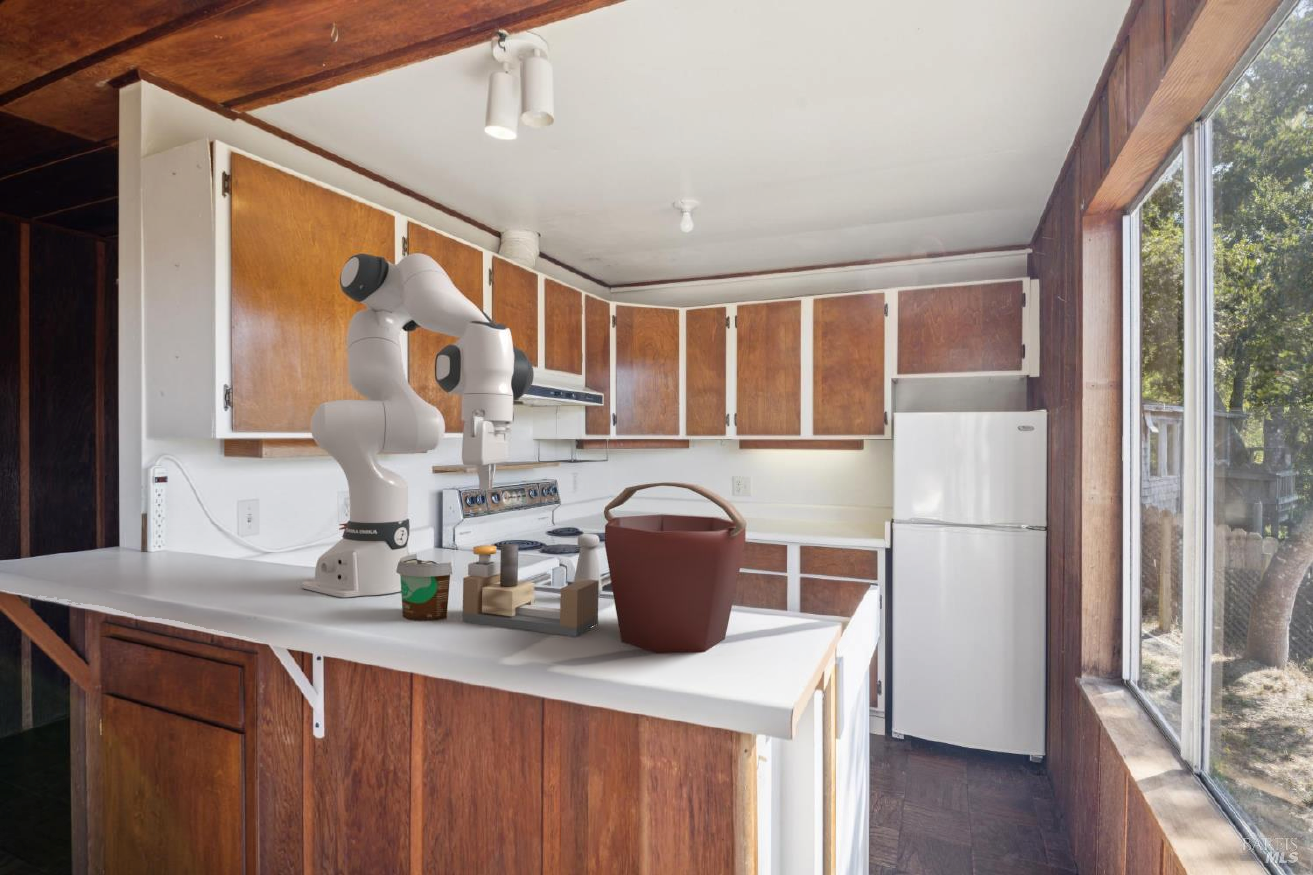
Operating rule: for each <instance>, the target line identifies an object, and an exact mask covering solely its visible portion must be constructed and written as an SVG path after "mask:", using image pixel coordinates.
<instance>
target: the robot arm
mask: <svg viewBox="0 0 1313 875" xmlns="http://www.w3.org/2000/svg"><path fill="white" fill-rule="evenodd" d="M339 284H340V288H341V292H342V293H343V294H345V296H347V297H348V298H349V299H351V300H353V301H354V302H356V303H361V304H363V305H364V306H366V307H367V308H364V309H361V310H359V311H357V312H356V313H355V314H354V315H353V316H352V317H351V319H350V321H349V326H348V330H347V340H346V341H347V342H346V354H347V355H346V356H347V370H348V372H347V373H348V381H349V383H350V385H351V387H352V388H353V389H354V391H355V392H356V393H358V394H359V395H360V396H363V397H364V398H366V399H351V398H350V399H349V398H348V399H340V400H339V399H338V400H332V401H326V402H323V403H321V404H320V405H318V407H317V408H316V409H315V411H314V412H313V414H312V416H311V419H310V432H311V436H312V438H313V440H314V441H315V442H314V443H315V444H316V445H317V446H318V447H320V448H321V450H323V451H325V452H326V453H327V454H329V455H330V456H331V457H332V458H333V459H334V460H335V461H336V462H337V463H338V464H339V466H340V468H341V469H342V471H343V473H344V476H345V478H346V480H347V486H348V494H349V495H348V496H349V520H348V521H347V522H345V523H339V525H338V526H342V527H339V528H338V530H339V531H340V530H344V531H343V534H342V538H341V539H340V540H339V541H338V542H336V544H334V545H332V546H331V547H330V548H329V549H328V550H326V551H325V552H324V553H322V554H321V555H320V556H319V557H318V559H317V562H316V564H315V571H314V578H310V579H308V580H305V581H304V582H302V583H301V588H302V589H304V590H305V589H306V590H308V591H313V592H317V593H321V594H325V595H329V596H334V597H339V598H351V597H359V596H360V597H361V596H377V595H378V596H379V595H386V594H394V593H399V592H401V579H400V574H398V573H397V572H396V570H397V566H398V562H400V559H401V558H402V557H405V556H408V555H410V554H409V553H410V552H409V546H408V541H409V536H410V528H411V526H410V519H409V518H408V506H409V504H408V502H409V500H408V499H409V497H408V495H409V487H408V483H407V482H406V480H405V478H403V477H402V476H401V475H400V474H398V473H396V472H394V471H392V470H390V469H388V468H385V467H383V466H382V465H380V463H379V461H378V456H377V455H379V454H416V453H423V452H428V451H434V450H435V449H436V448H437V447H438V446H439V445H440V444H441V442H442V441H443V439H444V437H445V434H446V433H445V432H446V424H445V419H444V417H443V414H442V413H441V412H440V410H439V409H438V408H437V407H436V406H434V405H432V404H431V403H428V401H426V400H424V398H422V397H420V396H419V395H418V393H417V392H416V391H415V390H413V388H412V387H411V386H410V383H409V381H408V380H407V378H406V374H405V370H404V365H403V358H402V356H403V355H402V349H401V348H402V347H401V342H400V334H401V333H400V332H401V331H404V332H414V331H416V329H420V328H422V329H425V330H427V331H429V332H434V333H438V334H441V335H442V334H443V335H447V336H451V337H455V338H457V339H458V340H457V341H455V342H454V343H451V344H450V343H449V344H447V345H446V346H444V347H443V348H442V349H441V350H440V351H438V353H437V354H436V356H435V361H434V377H435V378H434V379H435V381H436V383H437V384H438V386H439V387H440V388H441V390H443V391H444V392H445V393H447V394H451V395H454V396H455V395H456V396H462V397H461V421H462V422H464V424H463V430H462V441H461V442H462V444H461V461H462V464H463V466H473V467H475V466H477V467H476V472H477V476H478V480H479V482H478V486H479V487H478V489H479V490H480V491H489V490H493V488H494V477H495V474H496V469H497V468H496V467H497V466H496V464H501V463H506V462H508V459H509V456H510V455H509V454H510V446H511V438H512V437H511V435H512V424H514V423H515V412H514V401H515V402H516V401H517V400H519V399H520V398H522V397H523V396H524V395H525V394H527V392H528V390H530V388H531V387H532V385H533V382H534V375H535V374H534V373H535V372H534V368H533V364H532V362H531V361H530V358H529V357H528V355H527V353H525V352H524V351H523V350H522V349H521V348H517V347H516V346H514V343H513V337H512V333H511V329H510V328H509V327H507V325H504V324H502V323H496V322H494V321H493V320H492V318H490V316H488V314H487V313H486V312H485V311H483V310H482V309H481V308H480V307H479V306H477V305H476V304H474V303H473V302H472V301H471V300H470V299H468V298H467V297H466V296H465V295H464V294H463V293H462V292H461V291H460V290H459V289H458V288H457V287H456V286H455V284H454V283H453V281H452V280H451V278H450V276H449V275H448V274H447V272H446V271H445V270H444V269H443V267H442V266H441V265H440V264H439V263H438V262H437V261H436V260H435V259H433V258H432V257H431V256H429V255H427V254H425V253H421V252H419V253H418V252H416V253H415V252H414V253H411V254H408V255H405V256H404V257H402V259H401V260H399V262H398V263H397V264H394V263H392V262H390V261H387V260H386V259H385V257H382V256H376V255H373V254H369V253H357V254H354V255H352V256H350V257H349V258H348V259H347V260H346V262H345V264H344V266H343V267H342V269H341V272H340V277H339Z"/></svg>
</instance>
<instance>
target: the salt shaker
mask: <svg viewBox="0 0 1313 875" xmlns="http://www.w3.org/2000/svg"><path fill="white" fill-rule="evenodd" d="M576 541H577V546H578V547H580V549H579V554H578V560H577V563H576V568H575V574H574V579H573V583H575V582H577V581H580V580H582V579H588V580H598V581H599V593H598V599H599V597H600V595H601V594H602V592H603V583H602V579H601V571H600V567H599V566H600V565H599V560H598V553H597V548H598V547H599V546H600V537H599V536H598V535H597V534H596V533H595V534H594V533H583V534H580V535H579V536H577V540H576Z"/></svg>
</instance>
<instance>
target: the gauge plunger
mask: <svg viewBox="0 0 1313 875" xmlns="http://www.w3.org/2000/svg"><path fill="white" fill-rule="evenodd" d="M472 548H473V549H472V554H474V555H478V561H479V564H481V565H489V564H490V562H491V561H492V560H491V559H492V557H491V556H492V555H495V554H497V546H496V545H486V544H485V545H484V544H483V545H476V546H473V547H472Z"/></svg>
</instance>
